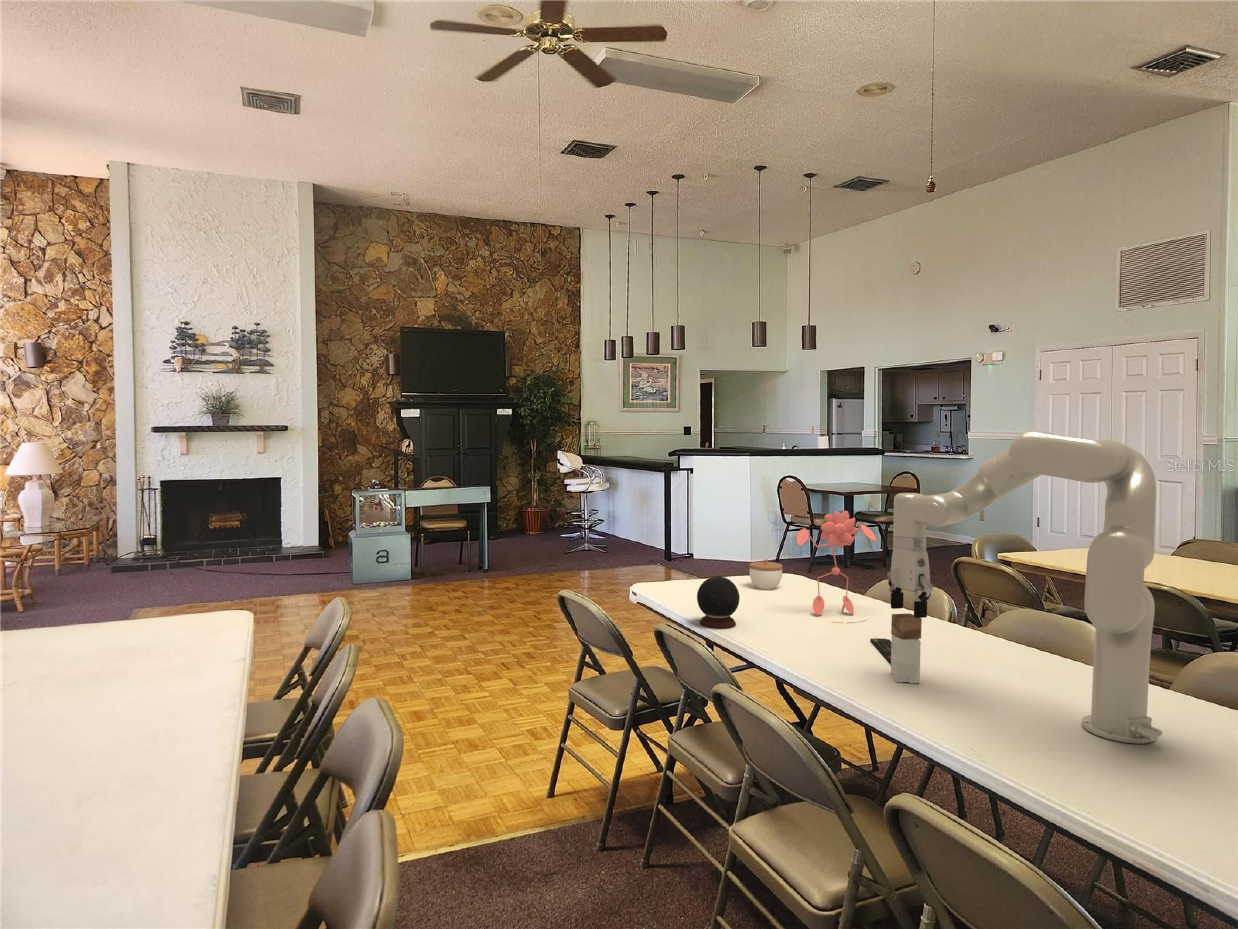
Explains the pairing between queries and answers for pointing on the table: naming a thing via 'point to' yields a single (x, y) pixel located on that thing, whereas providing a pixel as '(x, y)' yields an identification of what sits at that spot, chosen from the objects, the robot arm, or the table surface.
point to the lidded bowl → (765, 574)
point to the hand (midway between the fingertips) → (908, 612)
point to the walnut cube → (906, 626)
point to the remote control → (883, 647)
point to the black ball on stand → (718, 602)
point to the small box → (905, 659)
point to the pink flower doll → (837, 534)
